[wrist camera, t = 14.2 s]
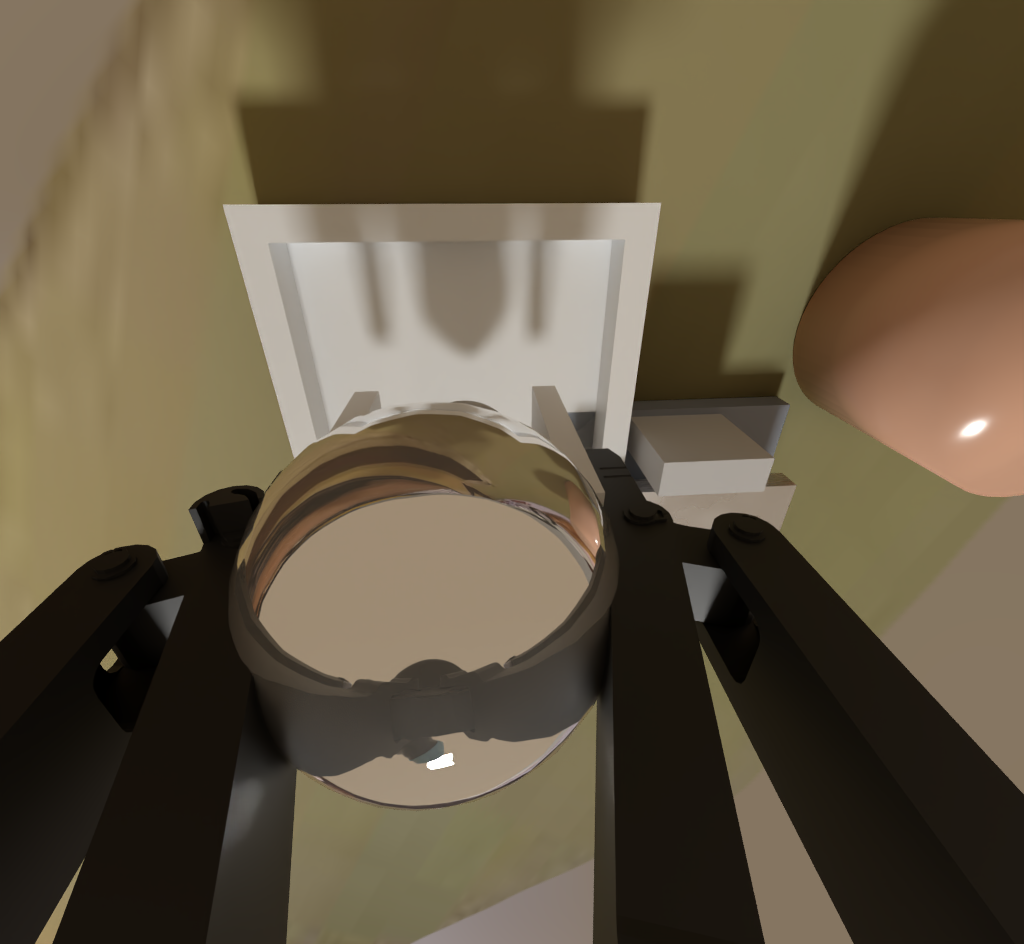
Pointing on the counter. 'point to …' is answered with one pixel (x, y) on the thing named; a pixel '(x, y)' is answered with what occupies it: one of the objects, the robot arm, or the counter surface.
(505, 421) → the light bulb
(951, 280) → the peach rounded pebble
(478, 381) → the tray
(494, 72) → the counter surface
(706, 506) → the plate
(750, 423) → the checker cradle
